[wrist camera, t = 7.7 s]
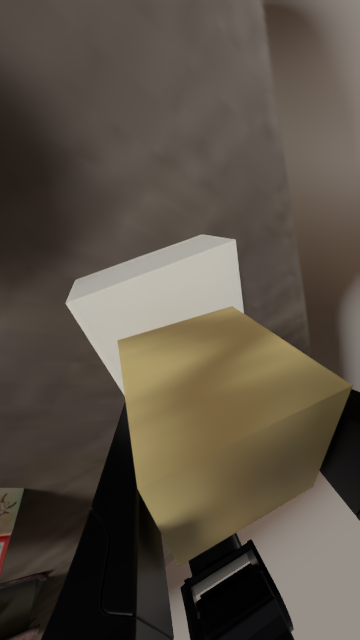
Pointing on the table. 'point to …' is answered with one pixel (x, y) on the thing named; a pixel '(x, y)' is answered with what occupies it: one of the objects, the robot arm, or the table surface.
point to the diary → (19, 607)
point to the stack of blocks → (8, 517)
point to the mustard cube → (223, 424)
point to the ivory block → (155, 293)
